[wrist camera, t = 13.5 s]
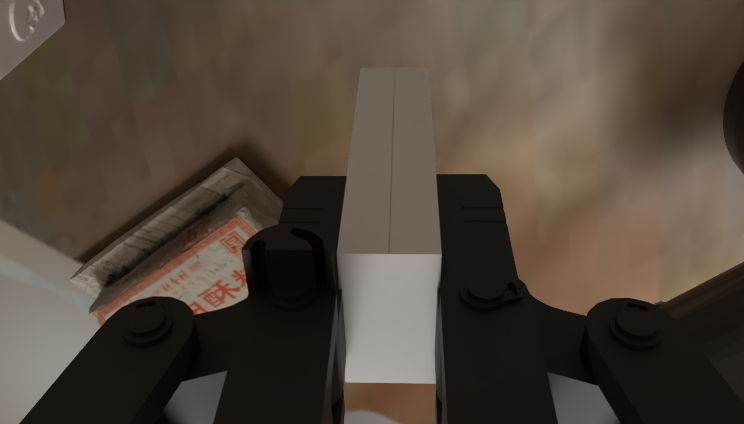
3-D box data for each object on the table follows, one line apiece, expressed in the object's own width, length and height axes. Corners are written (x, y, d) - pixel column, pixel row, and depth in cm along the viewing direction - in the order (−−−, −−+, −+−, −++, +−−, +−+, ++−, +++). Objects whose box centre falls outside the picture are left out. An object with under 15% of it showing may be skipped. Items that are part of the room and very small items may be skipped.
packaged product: (221, 187, 44) (323, 283, 48) (236, 148, 48) (329, 240, 52) (48, 309, 50) (151, 384, 55) (74, 267, 54) (168, 339, 59)
